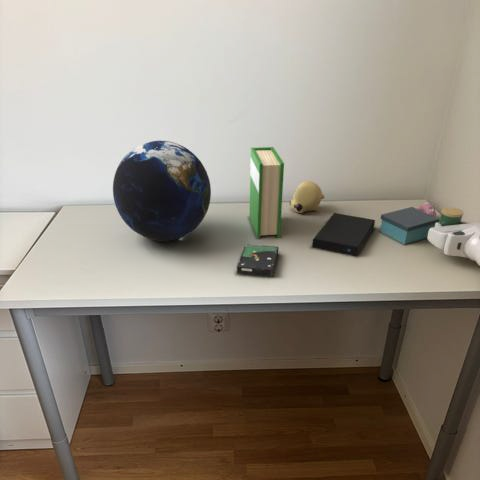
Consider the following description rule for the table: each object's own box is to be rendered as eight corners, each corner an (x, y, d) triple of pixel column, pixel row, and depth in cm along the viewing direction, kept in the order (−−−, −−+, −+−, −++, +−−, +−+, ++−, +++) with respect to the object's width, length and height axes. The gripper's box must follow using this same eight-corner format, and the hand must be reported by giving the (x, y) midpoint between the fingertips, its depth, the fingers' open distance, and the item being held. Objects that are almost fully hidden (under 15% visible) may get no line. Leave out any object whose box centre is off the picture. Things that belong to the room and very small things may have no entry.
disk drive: (272, 278, 144) (278, 254, 156) (273, 269, 143) (278, 245, 155) (236, 275, 146) (244, 251, 158) (236, 266, 144) (244, 243, 156)
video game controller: (427, 230, 175) (441, 213, 172) (417, 224, 174) (430, 207, 171) (419, 219, 184) (432, 202, 180) (409, 213, 183) (422, 196, 179)
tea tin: (444, 235, 165) (451, 205, 160) (459, 242, 161) (467, 212, 155) (430, 239, 163) (437, 209, 157) (446, 246, 158) (453, 216, 153)
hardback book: (279, 237, 167) (284, 163, 153) (257, 238, 166) (259, 164, 152) (270, 216, 181) (273, 147, 168) (249, 217, 180) (250, 147, 167)
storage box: (408, 223, 177) (412, 206, 173) (435, 236, 168) (439, 218, 165) (378, 231, 171) (381, 214, 167) (404, 245, 162) (408, 227, 159)
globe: (230, 234, 168) (230, 140, 152) (164, 267, 149) (155, 164, 132) (167, 211, 184) (160, 124, 167) (100, 238, 165) (84, 143, 148)
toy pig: (299, 214, 192) (280, 198, 186) (321, 189, 189) (302, 171, 183) (309, 224, 184) (289, 207, 178) (332, 197, 181) (312, 179, 175)
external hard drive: (373, 228, 173) (375, 219, 171) (356, 256, 156) (358, 247, 154) (332, 220, 178) (333, 212, 176) (311, 247, 160) (312, 238, 159)
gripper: (508, 228, 149) (479, 210, 160) (446, 235, 145) (420, 217, 156) (502, 248, 152) (474, 229, 163) (441, 256, 148) (416, 236, 159)
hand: (447, 223), depth 159 cm, fingers closed on tea tin, 6 cm apart
